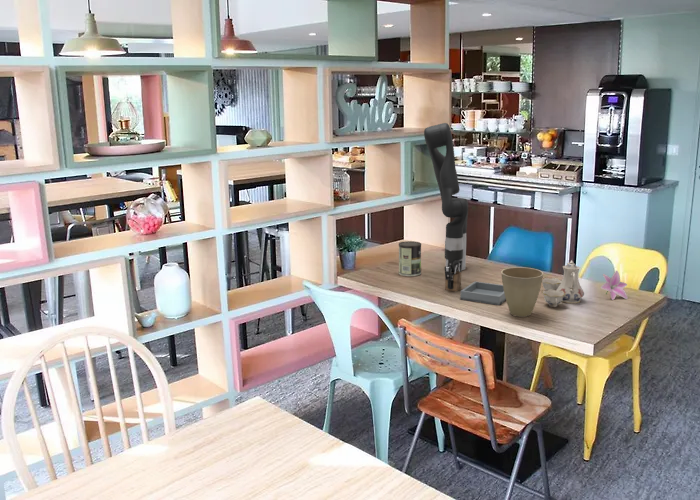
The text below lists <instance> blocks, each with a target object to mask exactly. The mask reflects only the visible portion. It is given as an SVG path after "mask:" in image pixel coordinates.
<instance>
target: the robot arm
mask: <svg viewBox="0 0 700 500" xmlns="http://www.w3.org/2000/svg"><path fill="white" fill-rule="evenodd" d="M423 136H424V141H425V144H426V147H427V150H428V152H429V155H430V158H431V163H432V165H433V172H434V176H435V179H436V182H437V186H438V189H439V193H440V200H441V212H442V214H443V215H444V217H446V218H449V219H450V218H451V219H452V218H453V220H452V221H449V222H448V223H446V225H445V240H444V259H445V266H444V279H446V280H448V289H453V280H454V275H455V274H456V272H461V273H462V271H464V270H466V264H467V263H466V261H467V260H466V259H467V257H466V256H467V228H468V217H469V216H468V215H469V202H468V200H467V199H466V198H463V197H462V198H461V197H453V196H454V195H457V194H458V193H459V192H460V184H459V178H458V171H457V168H456V157H455V150H454V149H455V148H454V140H453V133H452V130H451V127H450V125H449V124H448V122H443V123H439V124H435V125H431V126H428V127H425V128H424V131H423ZM443 147H445V151H446V152H445V155H444V154H443V153H441V152H440V151H439V149H438V148H443ZM451 272H453V273H451ZM447 275H448V276H447ZM449 276H450V277H449Z"/></svg>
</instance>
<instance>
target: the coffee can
mask: <svg viewBox="0 0 700 500" xmlns="http://www.w3.org/2000/svg"><path fill="white" fill-rule="evenodd" d="M421 274H422V242H419V241H415V240H414V241H412V240H407V241H406V240H405V241H401V242H400V241H399V243H398V275H400V276H403V277H418V276H419V275H421Z"/></svg>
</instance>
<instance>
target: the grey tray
mask: <svg viewBox="0 0 700 500" xmlns="http://www.w3.org/2000/svg"><path fill="white" fill-rule="evenodd" d="M459 296H460V297H459V300H463V301H469V302H475V303H480V302H481V304H486V305H495V306H500V305H502V304H503V303H504V302H505V301H506V298H505V293H504V289H503V284H498V283H490V282H484V281H483V282H482V281H477V280H475V281H473V282H472V283H470V284H469V285H467V286H466V287H464V288H462V289H460V294H459Z"/></svg>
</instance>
